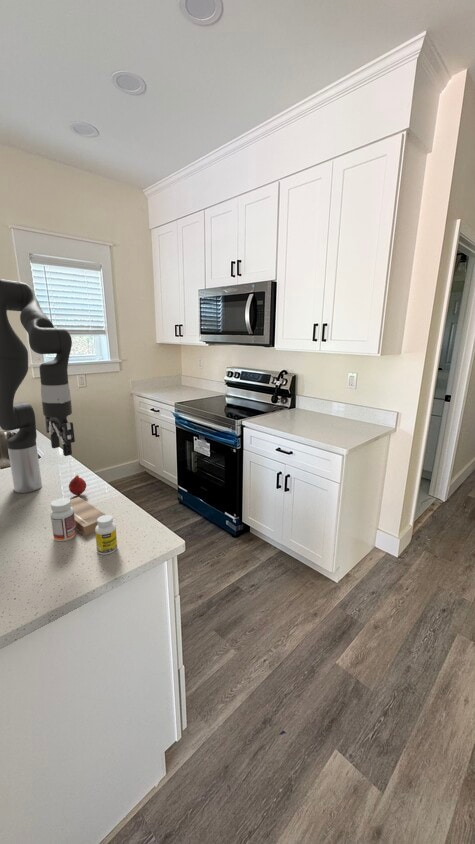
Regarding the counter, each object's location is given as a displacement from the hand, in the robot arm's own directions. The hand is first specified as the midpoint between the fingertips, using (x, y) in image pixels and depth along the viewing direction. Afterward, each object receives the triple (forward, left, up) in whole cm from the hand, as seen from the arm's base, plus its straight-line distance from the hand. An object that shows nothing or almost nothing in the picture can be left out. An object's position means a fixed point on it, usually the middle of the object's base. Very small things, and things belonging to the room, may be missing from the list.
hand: (61, 451), depth 106 cm
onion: (-16, +11, -24) cm, 31 cm away
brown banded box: (+1, +4, -24) cm, 24 cm away
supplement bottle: (+22, +1, -24) cm, 33 cm away
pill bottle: (+7, -4, -24) cm, 26 cm away
